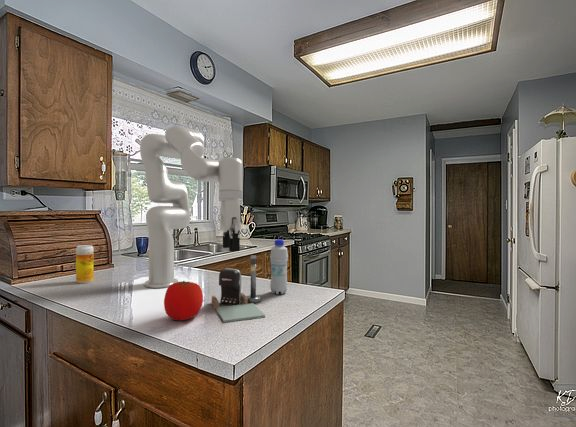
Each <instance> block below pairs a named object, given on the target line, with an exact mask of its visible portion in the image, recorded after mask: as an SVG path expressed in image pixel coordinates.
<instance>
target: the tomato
mask: <svg viewBox="0 0 576 427" xmlns="http://www.w3.org/2000/svg"><path fill="white" fill-rule="evenodd" d="M203 301H204V295H203V291H202V288H201V286H200V285H199V284H198V283H197V282H192V281H185V280H183V281H178V282H176V283H173V284H171V285H170V286H169V287H167V288H166V290H165V295H164V300H163V305H164V306H163V307H164V311H165V314H166V315H167V317H169V318H170V319H172V320H176V321H186V320H187V321H188V320H190V319H192V318H194V317H196V316H197V315H198V314H199V313H200V311H201V308H202V306H203V303H204V302H203Z"/></svg>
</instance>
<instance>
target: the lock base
mask: <svg viewBox="0 0 576 427" xmlns="http://www.w3.org/2000/svg"><path fill="white" fill-rule="evenodd" d="M245 296H246V297H247V298H248V304H250V303H254V304H255V305H257V304H260V303H261V302H262V301H261V295H257V294H256V297H255V298H251V297H250V295H249V294H248V295H245Z"/></svg>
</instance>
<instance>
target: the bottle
mask: <svg viewBox="0 0 576 427" xmlns="http://www.w3.org/2000/svg"><path fill="white" fill-rule="evenodd" d="M284 241H285V240H284V239H281V238H278V239H275V240H274V246H272V247H271V248H270V254H269V256H270V260H269V261H270V265H271V266H270V284H269V285H270V287H269V288H270V290H271V293H272V294H276V295H279V292H280V295H283V294H286V293H287V291H288V260H289V254H288V253H289V252H288V248H287V247H285V245H284V244H285V242H284Z"/></svg>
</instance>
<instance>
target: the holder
mask: <svg viewBox="0 0 576 427" xmlns="http://www.w3.org/2000/svg"><path fill="white" fill-rule="evenodd" d="M246 296H247V295H245V294H244V293H243V292H241V303H242V304H248V298H247V297H246ZM211 304H212V306H213V308H214V310H216V307H220V302H219V300H218V299H217V297H216V295H211Z"/></svg>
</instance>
